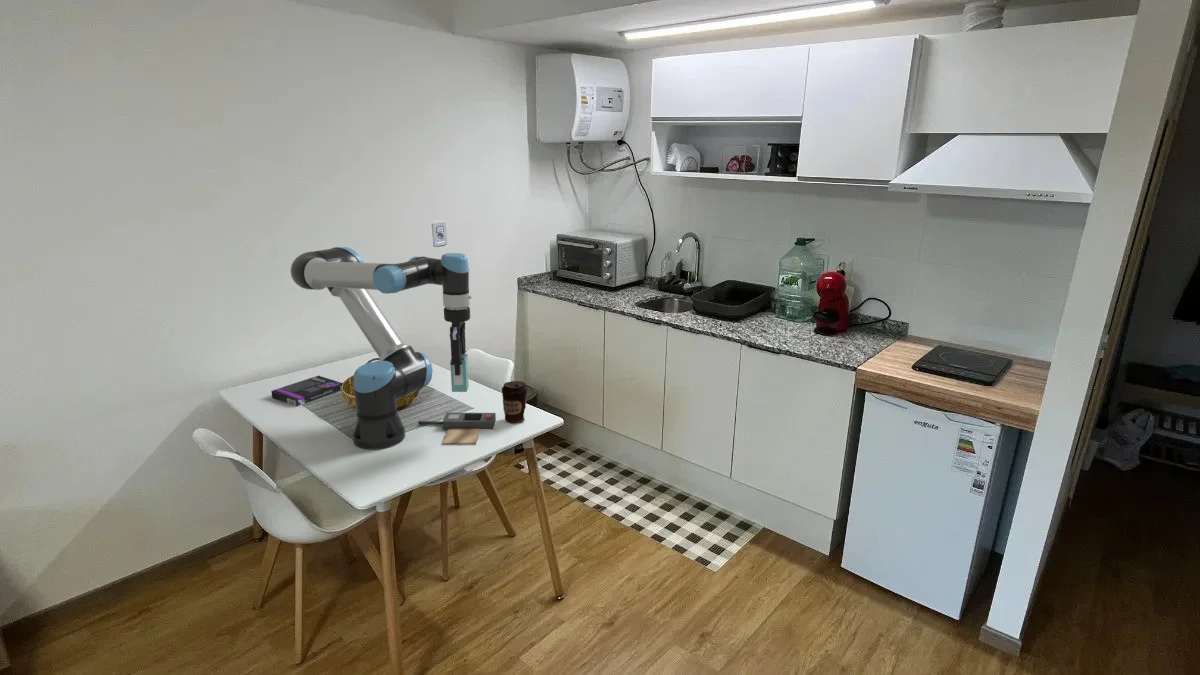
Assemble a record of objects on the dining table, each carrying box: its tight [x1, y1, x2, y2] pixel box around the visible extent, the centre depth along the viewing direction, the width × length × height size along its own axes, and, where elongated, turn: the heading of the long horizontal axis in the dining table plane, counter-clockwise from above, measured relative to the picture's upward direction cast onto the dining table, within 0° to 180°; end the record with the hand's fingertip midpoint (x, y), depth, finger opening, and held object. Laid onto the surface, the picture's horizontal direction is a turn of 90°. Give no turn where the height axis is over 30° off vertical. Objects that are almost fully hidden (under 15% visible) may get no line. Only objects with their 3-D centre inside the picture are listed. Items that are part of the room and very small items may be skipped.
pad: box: [442, 429, 481, 445], centre depth 195 cm, size 10×10×1 cm
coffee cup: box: [501, 380, 528, 425], centre depth 206 cm, size 9×8×13 cm
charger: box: [449, 353, 469, 393], centre depth 189 cm, size 4×4×11 cm
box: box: [271, 375, 344, 407], centre depth 226 cm, size 14×4×20 cm
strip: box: [417, 412, 497, 431], centre depth 203 cm, size 25×7×3 cm, turn 93°
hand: (459, 381), depth 190 cm, fingers closed on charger, 4 cm apart
